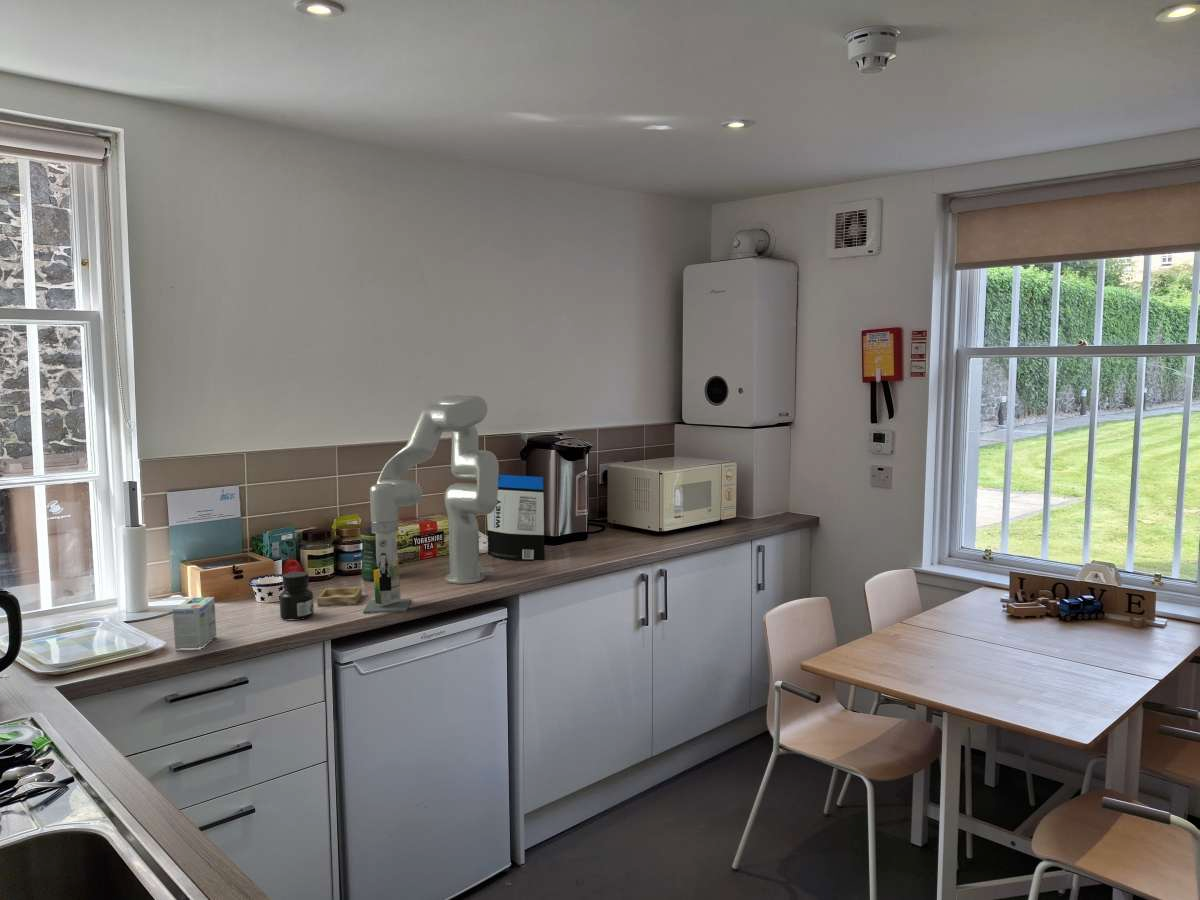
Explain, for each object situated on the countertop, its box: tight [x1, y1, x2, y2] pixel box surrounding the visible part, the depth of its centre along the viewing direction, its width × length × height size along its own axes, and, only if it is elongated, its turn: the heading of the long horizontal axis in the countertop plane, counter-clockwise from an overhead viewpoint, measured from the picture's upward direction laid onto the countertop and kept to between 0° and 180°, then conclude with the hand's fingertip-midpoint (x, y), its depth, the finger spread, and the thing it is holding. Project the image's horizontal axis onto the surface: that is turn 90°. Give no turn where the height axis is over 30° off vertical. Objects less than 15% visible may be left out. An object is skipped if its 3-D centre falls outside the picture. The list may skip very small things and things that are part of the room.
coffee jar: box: [360, 523, 380, 582], centre depth 283 cm, size 10×8×19 cm
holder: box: [316, 586, 363, 607], centre depth 257 cm, size 11×11×2 cm
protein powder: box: [486, 474, 546, 562], centre depth 311 cm, size 10×24×30 cm, turn 63°
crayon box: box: [373, 559, 402, 604], centre depth 249 cm, size 7×3×12 cm, turn 145°
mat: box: [362, 598, 412, 614], centre depth 250 cm, size 12×12×1 cm
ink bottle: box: [279, 571, 315, 620], centre depth 240 cm, size 10×9×12 cm
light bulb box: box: [172, 596, 217, 650], centre depth 218 cm, size 11×7×11 cm, turn 5°
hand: (387, 586), depth 249 cm, fingers closed on crayon box, 7 cm apart
